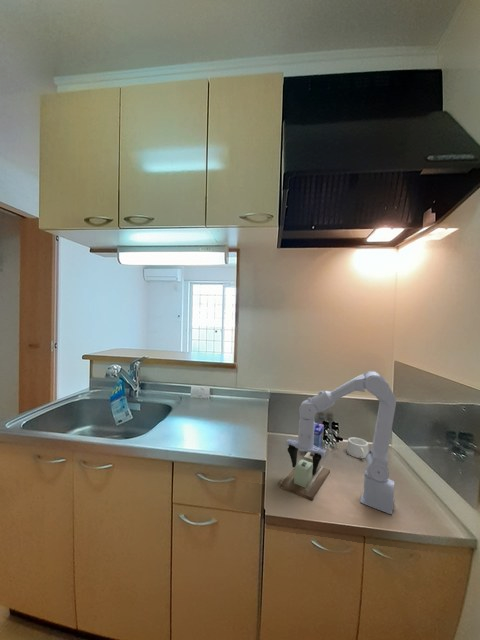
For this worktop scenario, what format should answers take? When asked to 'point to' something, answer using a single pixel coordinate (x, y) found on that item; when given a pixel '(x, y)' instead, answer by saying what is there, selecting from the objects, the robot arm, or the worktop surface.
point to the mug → (357, 447)
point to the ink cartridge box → (318, 435)
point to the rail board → (313, 484)
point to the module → (303, 473)
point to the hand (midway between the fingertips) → (304, 469)
